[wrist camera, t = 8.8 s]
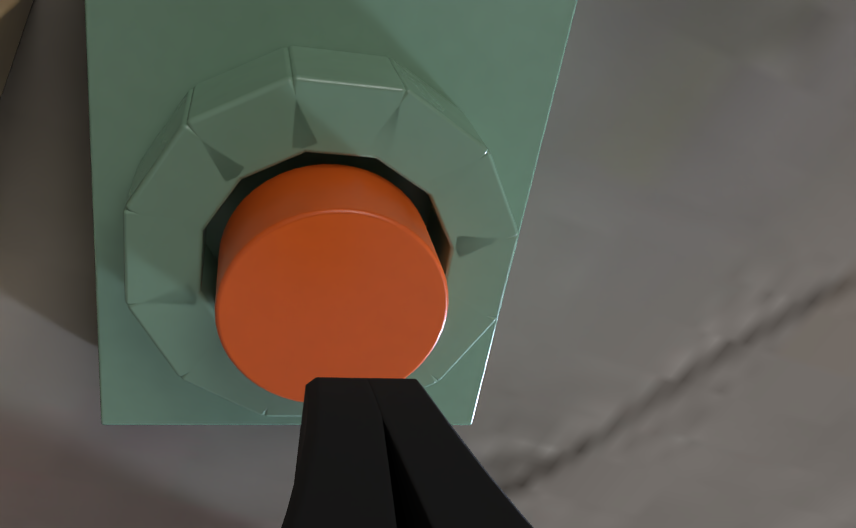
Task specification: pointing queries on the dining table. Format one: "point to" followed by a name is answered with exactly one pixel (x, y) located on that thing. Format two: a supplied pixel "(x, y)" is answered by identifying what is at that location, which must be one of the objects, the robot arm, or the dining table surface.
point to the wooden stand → (11, 33)
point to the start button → (327, 281)
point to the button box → (297, 147)
